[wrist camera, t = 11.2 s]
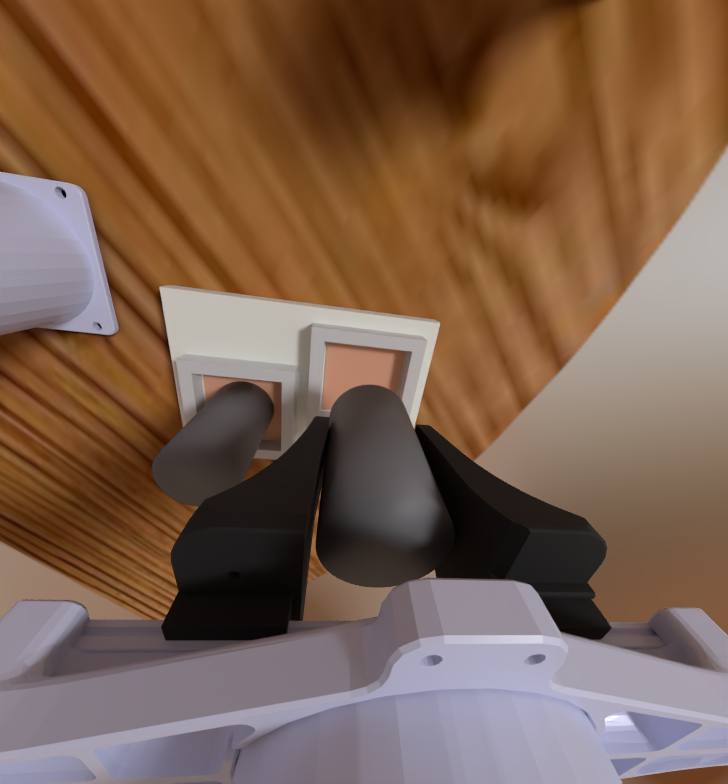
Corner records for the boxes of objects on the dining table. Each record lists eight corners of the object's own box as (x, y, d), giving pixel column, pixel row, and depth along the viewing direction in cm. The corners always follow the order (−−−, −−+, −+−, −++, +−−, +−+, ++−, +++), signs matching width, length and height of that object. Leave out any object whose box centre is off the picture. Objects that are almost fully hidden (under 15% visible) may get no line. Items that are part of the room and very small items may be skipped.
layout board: (194, 443, 22) (178, 463, 20) (171, 285, 17) (145, 288, 15) (401, 458, 24) (406, 478, 22) (434, 319, 19) (446, 327, 17)
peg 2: (325, 448, 15) (310, 585, 9) (333, 379, 13) (321, 486, 7) (398, 454, 15) (435, 589, 9) (414, 389, 14) (472, 497, 7)
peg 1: (215, 426, 20) (156, 502, 14) (215, 376, 19) (147, 436, 12) (271, 434, 21) (239, 510, 14) (276, 386, 19) (242, 449, 13)
